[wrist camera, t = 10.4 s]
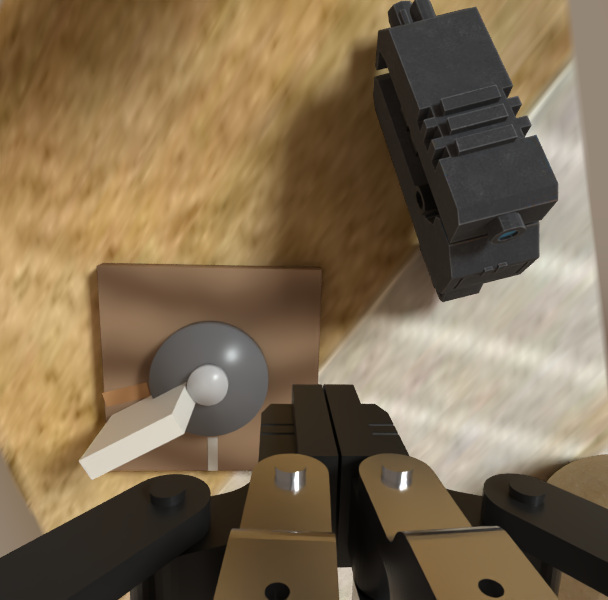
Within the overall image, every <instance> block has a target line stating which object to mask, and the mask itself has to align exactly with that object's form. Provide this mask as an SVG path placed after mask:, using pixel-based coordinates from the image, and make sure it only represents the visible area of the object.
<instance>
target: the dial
mask: <svg viewBox="0 0 608 600" xmlns="http://www.w3.org/2000/svg"><path fill="white" fill-rule="evenodd" d="M149 385H150V391H151V396H149V397H147V398H145V399H143V400H141V401H139V402H137V403H135V404H133V405H131V406H129V407H127V408H125V409H123V410H121V411H119V412H117V413H115V414H113V415H112V416H111V417H110V418H109V420H108V421H107V423H106V424H105V425H104V427H103V428H102V429H101V431H100V432H99V434H98V435H97V436H96V438H95V439H94V440H93V442H92V443H91V445H90V446H89V447H88V449H87V450H86V452H85V453H84V454H83V456H82V457H81V458H80V460H79V462H80V464H81V465H82V467H83V468H84V470H85V471H86V472H87V474H88V475H89V477H90V478H91V480H93V479H95V478H97V477H99V476H101V475H103V474H105V473H107V472H109V471H111V470H113V469H115V468H117V467H119V466H121V465H123V464H125V463H127V462H129V461H131V460H133V459H135V458H137V457H139V456H141V455H143V454H145V453H147V452H149V451H151V450H153V449H155V448H157V447H159V446H161V445H163V444H165V443H167V442H169V441H171V440H173V439H175V438H177V437H179V436H181V435H183V434H184V433H185V431H186V432H188V433H191V434H195V435H200V436H219V435H224V434H228V433H231V432H233V431H236V430H238V429H240V428H241V427H243V426H245V425H246V424H247V423H249V422H250V421H251V420H252V419H253V418H254V417H255V416H256V414H257V413H258V412H259V410H260V409H261V407H262V405H263V403H264V400H265V398H266V394H267V390H268V367H267V362H266V359H265V356H264V354H263V352H262V350H261V348H260V347H259V345H258V344H257V343H256V341H255V340H254V339H253V338H252V337H251V336H250V335H249V334H247V333H246V332H245V331H243V330H242V329H240V328H238V327H236V326H234V325H231V324H229V323H225V322H221V321H199V322H195V323H191V324H188V325H186V326H184V327H182V328H180V329H178V330H177V331H175V332H174V333H173V334H171V335H170V336H169V337H168V338H167V339H166V340H165V342H164V343H163V344H162V346H161V347H160V349H159V350H158V351H157V353H156V355H155V357H154V359H153V361H152V364H151V368H150V374H149Z"/></svg>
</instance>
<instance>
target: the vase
mask: <svg viewBox="0 0 608 600" xmlns="http://www.w3.org/2000/svg"><path fill="white" fill-rule="evenodd" d="M547 483H549V484H552V485H554V486H556V487H558V488H561V489H563V490H565V491H568V492H570V493H572V494H575V495H577V496H579V497H582V498H584V499H586V500H588V501H591V502H593V503H595V504H598V505H600V506H602V507H605V508H607V509H608V455H597V456H592V457H587V458H582V459H579V460H576V461H573V462H571V463H569V464H567V465H565V466H564V467H562V468H561V469H559V470H558V471H557V472H555V473H554V474H553V475H552V476H551V477H550V478H549V479H548V481H547ZM558 598H559V600H608V597H607V596H605V595H603V594H601V593H600V592H598V591H596V590H594V589H592V588H591V587H589V586H587V585H585V584H583V583H581V582H580V581H578V580H576V579H574V578H572V577H571V576H569V575H567V574H565V573H563V572H562V574H561V581H560V587H559V594H558Z"/></svg>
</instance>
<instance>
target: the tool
mask: <svg viewBox="0 0 608 600" xmlns="http://www.w3.org/2000/svg"><path fill="white" fill-rule="evenodd" d="M388 18H389V23H390V26H391V28H387V29H383V30H379V31H378V40H377V52H376V63H375V67H376V70H380V69H384V68H388V70H389V73H387V74H384V75H380V76H376V77H374V92H373V97H374V104H375V110H376V113H377V116H378V119H379V122H380V125H381V128H382V131H383V134H384V137H385V140H386V143H387V146H388V149H389V152H390V156H391V159H392V162H393V165H394V168H395V171H396V174H397V177H398V180H399V183H400V186H401V189H402V192H403V195H404V198H405V201H406V204H407V207H408V210H409V213H410V216H411V219H412V222H413V225H414V228H415V231H416V234H417V237H418V240H419V243H420V251H421V253H422V256H423V258H424V261H425V263H426V266H427V268H428V271H429V274H430V277H431V280H432V283H433V286H434V288H435V289H436V292H437V294H438V297H439V299H440V300H441V301H442V302H445V301H449V300H453V299H457V298H461V297H465V296H469V295H473V294H477V293H479V291H480V289H481V287H482V285H483V283H487V282H491V281H495V280H499V279H503V278H507V277H511V276H515V275H519V274H521V273H522V272H523V271H524V270H525V269H526V268H528V267H529V266H530V265H531V264H532V263H533V262H534V261H535V260H537V259H538V258H539V220H542V219H543V217H544V216H545V215H546V214H547V213H548V212H549V210H550V209H551V208H552V207H553V206H554V204H555V203H556V202H557V201H558V182H557V180H556V178H555V175H554V173H553V171H552V169H551V167H550V164H549V162H548V160H547V158H546V155H545V153H544V151H543V149H542V146H541V144H540V142H539V140H538V138H537V135H534V136H530V137H526V138H525V135H526V134H527V132H528V130H529V129H530V127H531V123H530V120H529V118H528V116H523V117H519V118H516V117H515V116H516V114H517V112H518V111H519V109H520V107H521V105H522V103H521V101H520V99H519V97H518V96H516V97H512V98H508V96H509V93H510V91H511V89H512V87H513V84H512V82H511V80H510V78H509V76H508V74H507V71H506V69H505V67H504V65H503V63H502V61H501V59H500V56H499V54H498V52H497V50H496V48H495V46H494V44H493V42H492V39H491V37H490V35H489V33H488V31H487V29H486V27H485V25H484V22H483V20H482V18H481V16H480V14H479V12H478V10H477V8H476V7H473V8H468V9H462V10H458V11H454V12H450V13H446V14H442V15H438V16H436V15H435V12H434V10H433V7H432V5H431V3H430V1H429V0H414V2H413V3H411V2H410V1H400V2H398V3H396V4H394V5H393V6H392V7H391V8H390V10H389V11H388ZM507 98H508V99H507Z"/></svg>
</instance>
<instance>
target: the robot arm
mask: <svg viewBox="0 0 608 600" xmlns="http://www.w3.org/2000/svg"><path fill="white" fill-rule="evenodd" d="M337 567H352V571H353V587H352V600H559V598H558V594H559V587H560V581H561V574H562V572H563V573H565V574H567V575H569V576H571V577H572V578H574V579H576V580H578V581H580V582H581V583H583V584H585V585H587V586H589V587H591V588H592V589H594V590H596V591H598V592H600V593H601V594H603V595H605V596H607V597H608V509H607V508H605V507H602V506H600V505H598V504H595V503H593V502H591V501H588V500H586V499H584V498H582V497H579V496H577V495H575V494H572V493H570V492H568V491H565V490H563V489H561V488H558V487H556V486H554V485H552V484H549V483H547V482H545V481H542V480H540V479H537V478H533V477H530V476H526V475H520V474H499V475H495V476H492V477H490V478H489V479H487V480H486V482H485V483H484V488H483V496H478V495H473V494H467V493H462V492H457V491H452V490H449V489H446V488H445V487H444V486H443V484H442V483H441V481H440V480H439V478H438V477H437V476H436V474H435V473H434V471H433V470H432V469H431V468H430V467H429V466H428V465H427V464H425V463H424V462H422V461H420V460H418V459H416V458H413V457H410V456H409V454H408V452H407V450H406V448H405V446H404V444H403V442H402V440H401V438H400V436H399V435H398V432H397V430H396V428H395V426H393V422H392V420H391V418H390V416H389V414H388V413H387V412H386V411H384V410H383V409H381V408H380V407H379V406H377V405H376V404H361V403H360V400H359V398H358V395H357V393H356V390H355V388H354V385H336V384H324V385H323V388H322V385H321V384H292V401H291V404H270V405H269V406H268V407H267V408H266V409H265V410H264V411H263V412H262V413H261V427H260V443H259V459H258V463H257V464H256V466H255V467H254V469H253V471H252V475H251V480H250V482H249V483H248V484H247V485H245V486H244V487H242V488H239V489H237V490H235V491H232V492H228V493H224V494H220V495H215V496H210V489H209V487H208V485H207V484H206V483H205V482H204V481H202V480H200V479H198V478H196V477H193V476H189V475H182V474H171V475H163V476H158V477H154V478H151V479H148V480H146V481H143V482H141V483H139V484H138V485H136V486H134V487H132V488H130V489H128V490H126V491H124V492H123V493H121V494H119V495H117V496H115V497H113V498H111V499H109V500H108V501H106V502H104V503H102V504H100V505H98V506H96V507H94V508H93V509H91V510H89V511H87V512H85V513H83V514H81V515H79V516H78V517H76V518H74V519H72V520H70V521H68V522H66V523H65V524H63V525H61V526H59V527H57V528H55V529H53V530H51V531H50V532H48V533H46V534H44V535H42V536H40V537H38V538H36V539H35V540H33V541H31V542H29V543H27V544H25V545H23V546H21V547H20V548H18V549H16V550H14V551H12V552H10V553H9V554H7V555H5V556H3V557H1V558H0V600H118V599H119V598H121V597H122V596H124V595H125V594H126V593H128V592H129V591H130V600H339V588H338V571H337Z"/></svg>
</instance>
